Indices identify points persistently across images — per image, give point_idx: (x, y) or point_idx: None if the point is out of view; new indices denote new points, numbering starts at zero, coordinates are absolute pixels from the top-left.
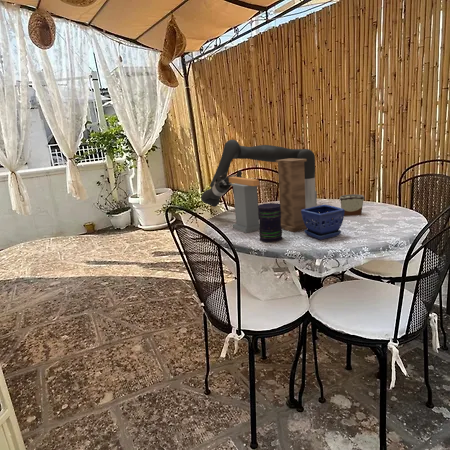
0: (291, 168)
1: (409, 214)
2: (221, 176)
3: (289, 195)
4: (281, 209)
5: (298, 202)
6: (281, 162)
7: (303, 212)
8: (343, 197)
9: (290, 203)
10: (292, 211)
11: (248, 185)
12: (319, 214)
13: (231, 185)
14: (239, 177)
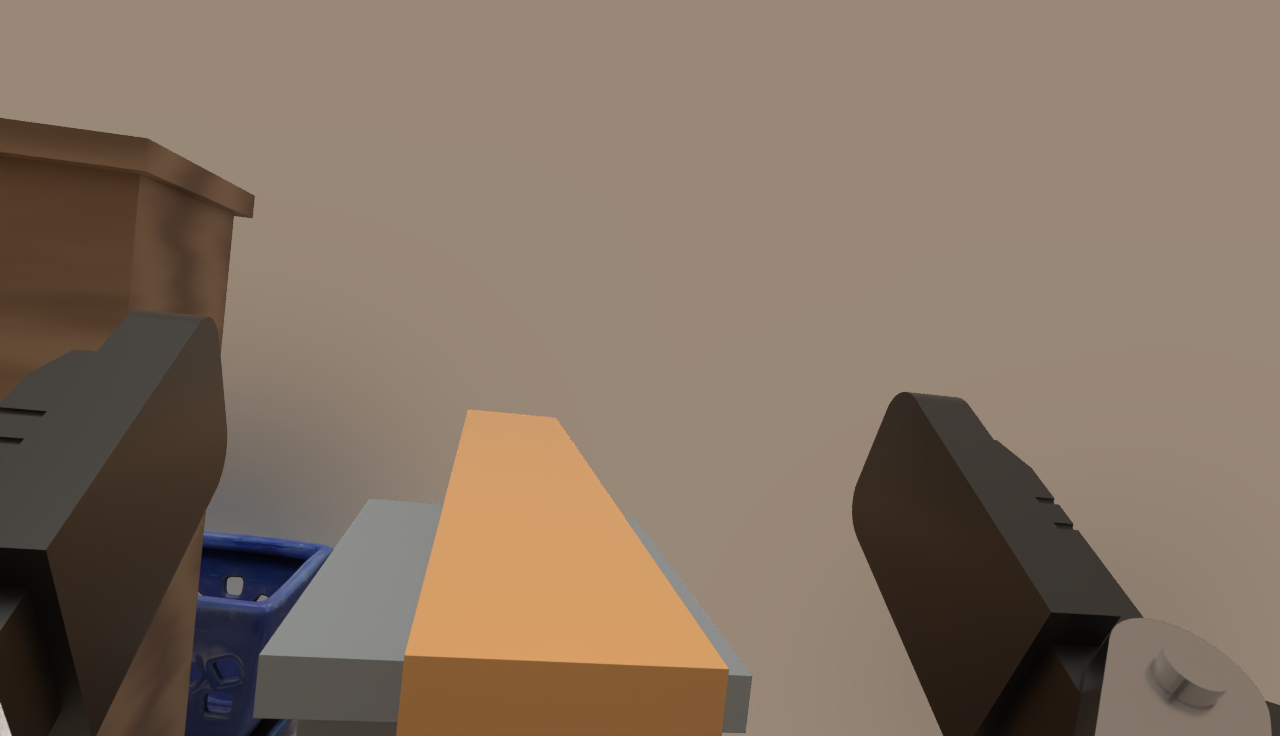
0: (226, 266)
1: None
2: (1123, 610)
3: (181, 561)
4: None
5: None
6: (193, 188)
7: (286, 610)
8: None
9: (177, 644)
10: (180, 714)
11: None
12: (331, 547)
13: (741, 706)
14: (470, 509)
